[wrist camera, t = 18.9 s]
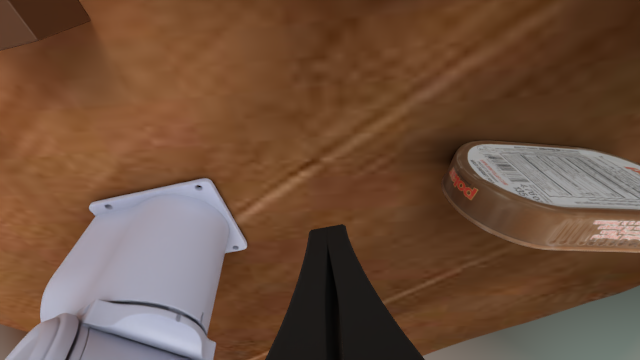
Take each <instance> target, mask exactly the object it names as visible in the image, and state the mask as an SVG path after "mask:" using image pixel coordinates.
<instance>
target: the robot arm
mask: <svg viewBox="0 0 640 360" xmlns="http://www.w3.org/2000/svg"><path fill="white" fill-rule="evenodd" d="M197 185H199V186H201V187H198V186H197ZM110 205H111V206H110ZM89 209H90V211H91V212H92V213H93V214H94V215H95V218H94V219H93V221H92V222H91V223H90V225H89V226H88V228H87V229H86V230H85V232H84V233H83V235H82V236H81V237H80V239H79V240H78V241H77V243H76V244H75V246H74V247H73V248H72V250H71V251H70V253H69V254H68V255H67V257H66V258H65V259H64V261H63V262H62V264H61V265H60V266H59V268H58V269H57V271H56V272H55V273H54V275H53V276H52V278H51V279H50V281H49V283H48V284H47V286H46V288H45V291H44V294H43V297H42V301H41V309H40V319H41V323H40V324H38V325H37V326H36V327H34V328H33V329H32V330H31V331H30V332H29V333H28V334H27V335H26V336H25V337H24V338H23V339H22V340H21V341H20V342H19V344H18V345H17V346H16V347H15V348H14V349H13V350H12V352H11V353H10V354H9V355H8V356H7V357H6V359H5V360H213V357H214V352H215V347H216V342H214V341H212V340H210V339H208V338H207V333H208V328H209V324H210V319H211V315H212V310H213V305H214V301H215V296H216V292H217V287H218V283H219V278H220V273H221V269H222V264H223V260H224V255H225V253H229V252H234V251H239V250H244V249H246V248H247V242H246V240H245V238H244V236H243V235H242V233H241V231H240V229H239V227H238V226H237V224H236V222H235V220H234V219H233V217H232V215H231V213H230V212H229V210H228V208H227V206H226V205H225V203H224V201H223V199H222V198H221V196H220V194H219V192H218V191H217V189H216V187H215V185H214V184H213V182H212V181H211V180H210V179H207V178H203V179H198V180H193V181H189V182H184V183H179V184H175V185H170V186H165V187H160V188H156V189H151V190H146V191H142V192H137V193H132V194H128V195H123V196H118V197H113V198H109V199H104V200H99V201H95V202H92V203H91V204H90V206H89ZM342 344H343V347H342ZM265 360H424V358H423V357H422V355H421V354H420V353H419V352H418V350H417V349H416V348H415V347H414V345H413V344H412V343H411V341H410V340H409V339H408V338H407V336H406V335H405V334H404V332H403V331H402V330H401V328H400V327H399V326H398V324H397V323H396V321H395V320H394V319H393V317H392V316H391V314H390V313H389V311H388V310H387V308H386V307H385V305H384V304H383V302H382V301H381V299H380V298H379V296H378V295H377V293H376V291H375V290H374V288H373V286H372V285H371V283H370V281H369V280H368V278H367V276H366V274H365V272H364V271H363V269H362V267H361V265H360V263H359V261H358V259H357V257H356V255H355V253H354V250H353V248H352V246H351V243H350V241H349V238H348V235H347V231H346V226H345V225H343V224H341V225H336V226H330V227H325V228H320V229H314V230H311V231H310V232H309V238H308V243H307V248H306V253H305V257H304V261H303V265H302V268H301V272H300V275H299V279H298V282H297V285H296V288H295V291H294V294H293V296H292V299H291V302H290V305H289V308H288V310H287V313H286V315H285V318H284V320H283V322H282V325H281V327H280V329H279V332H278V334H277V336H276V338H275V340H274V342H273V344H272V347H271V349H270V351H269V353H268V355H267V357H266V359H265Z"/></svg>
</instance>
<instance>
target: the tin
mask: <svg viewBox="0 0 640 360" xmlns="http://www.w3.org/2000/svg"><path fill="white" fill-rule="evenodd" d="M441 185H442V190H443V193H444V195H445V197H446V198H447V200H448V201H449V203H450V204H451V205H452V206H453V207H454V208H455V209H456V210H457V211H458V212H459V213H460V214H461V215H463V216H464V217H465V218H466V219H468V220H470V221H471V222H472V223H474V224H475V225H477V226H478V227H480V228H482V229H483V230H485V231H487V232H489V233H491V234H493V235H496V236H498V237H500V238H503V239H505V240H508V241H510V242H513V243H516V244H519V245H523V246H526V247H531V248H536V249H543V250H566V251H608V252H633V253H640V164H639V163H636V162H633V161H631V160H628V159H625V158H622V157H619V156H616V155H613V154H609V153H605V152H601V151H597V150H593V149H587V148H580V147H569V146H556V145H545V144H532V143H518V142H504V141H483V140H482V141H473V142H469V143H466V144H464V145H462V146H461V147H460V148H459V149H458V150H457V151H456V153H455V155H454V157H453V159H452V161H451V163H450V166H449V168H448V171H447V173H446V174H445V175H444V176H443V178H442V183H441Z"/></svg>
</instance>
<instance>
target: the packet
mask: <svg viewBox="0 0 640 360" xmlns="http://www.w3.org/2000/svg"><path fill="white" fill-rule="evenodd" d="M88 21H90V19H89V17H88V15H87V14H86V12H85V11H84V9H83V7H82V6H81V4H80V3H79V1H78V0H0V51H1V50H5V49H9V48H12V47H16V46H20V45H24V44H28V43H32V42H36V41H39V40H42V39H44V38H47V37H49V36H52V35H55V34H57V33H60V32H62V31H65V30H68V29H70V28H73V27H75V26H78V25H81V24H83V23H86V22H88Z"/></svg>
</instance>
